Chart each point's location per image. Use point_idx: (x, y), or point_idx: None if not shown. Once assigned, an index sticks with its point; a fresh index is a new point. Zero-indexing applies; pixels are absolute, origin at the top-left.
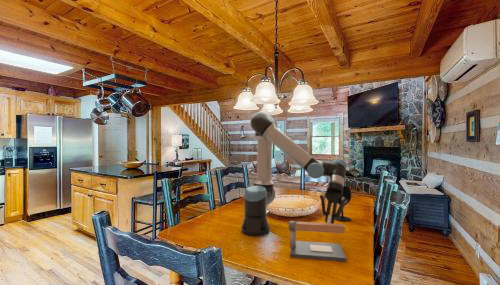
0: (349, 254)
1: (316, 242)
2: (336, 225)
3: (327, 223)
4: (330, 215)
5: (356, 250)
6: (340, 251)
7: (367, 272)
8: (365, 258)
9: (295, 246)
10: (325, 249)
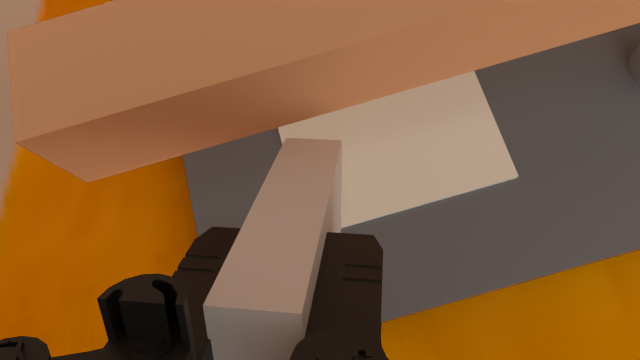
0: (147, 228)
1: (474, 284)
2: (137, 16)
3: (297, 46)
4: (236, 295)
5: (77, 352)
6: (211, 169)
7: (52, 5)
8: (26, 209)
9: (633, 60)
10: (344, 130)
